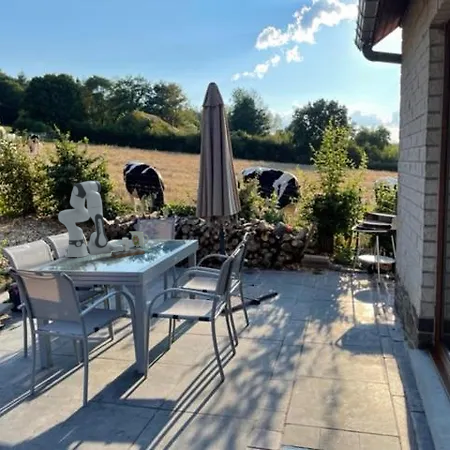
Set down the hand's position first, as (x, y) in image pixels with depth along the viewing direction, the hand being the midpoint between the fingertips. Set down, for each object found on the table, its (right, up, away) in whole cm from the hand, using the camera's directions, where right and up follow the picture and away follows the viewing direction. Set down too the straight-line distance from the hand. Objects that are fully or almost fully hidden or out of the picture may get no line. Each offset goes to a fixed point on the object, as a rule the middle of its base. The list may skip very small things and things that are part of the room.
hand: (124, 245), depth 381 cm
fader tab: (+1, -6, +2) cm, 6 cm away
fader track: (+3, -8, +3) cm, 9 cm away
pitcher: (+5, -3, +43) cm, 44 cm away
